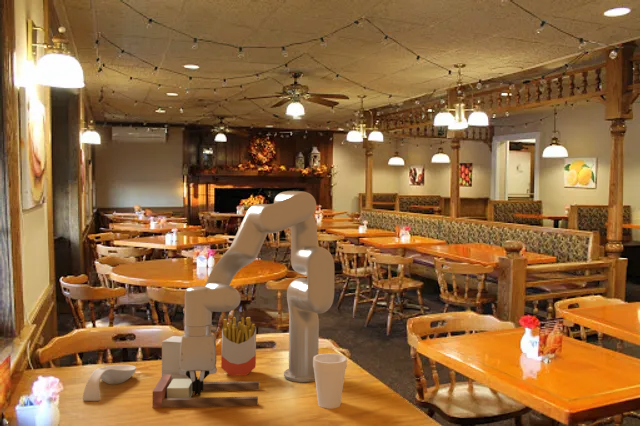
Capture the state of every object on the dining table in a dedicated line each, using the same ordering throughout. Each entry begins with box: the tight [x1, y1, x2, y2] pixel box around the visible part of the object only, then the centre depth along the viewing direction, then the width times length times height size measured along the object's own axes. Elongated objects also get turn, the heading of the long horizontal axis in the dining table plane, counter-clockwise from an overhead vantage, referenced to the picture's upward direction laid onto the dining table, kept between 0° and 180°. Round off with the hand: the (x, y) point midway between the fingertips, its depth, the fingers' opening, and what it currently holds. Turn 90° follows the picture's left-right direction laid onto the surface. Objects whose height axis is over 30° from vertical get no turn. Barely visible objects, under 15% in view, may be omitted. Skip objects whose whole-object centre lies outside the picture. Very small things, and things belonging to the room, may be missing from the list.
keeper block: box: [167, 378, 194, 398], centre depth 159 cm, size 6×8×4 cm
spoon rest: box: [82, 364, 137, 402], centre depth 166 cm, size 24×12×7 cm, turn 179°
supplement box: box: [161, 335, 190, 381], centre depth 174 cm, size 7×7×13 cm
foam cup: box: [313, 352, 348, 409], centre depth 153 cm, size 10×9×13 cm
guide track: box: [152, 374, 260, 409], centre depth 158 cm, size 28×14×4 cm, turn 95°
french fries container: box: [220, 316, 257, 376], centre depth 179 cm, size 5×11×18 cm, turn 94°
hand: (197, 393), depth 158 cm, fingers closed
